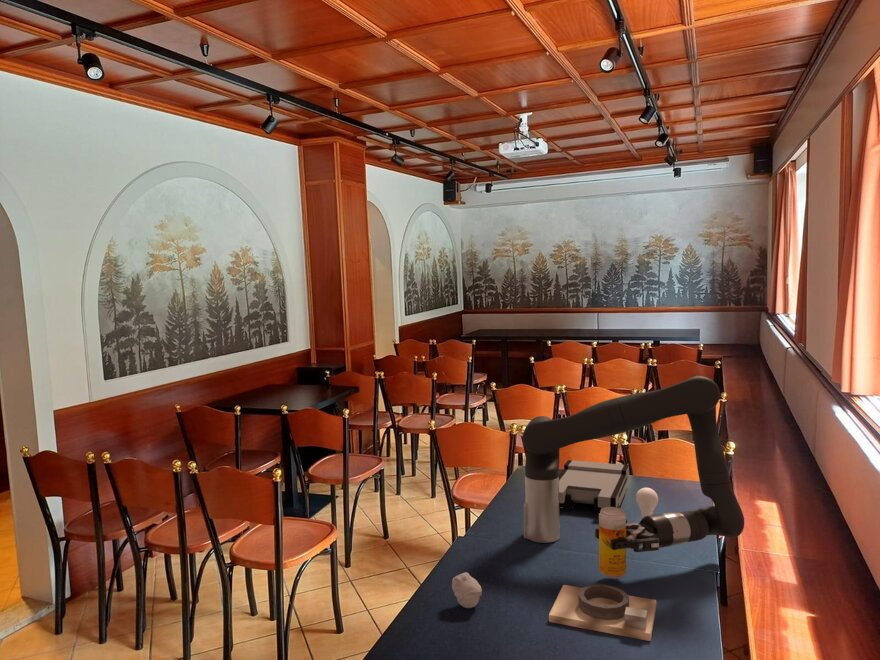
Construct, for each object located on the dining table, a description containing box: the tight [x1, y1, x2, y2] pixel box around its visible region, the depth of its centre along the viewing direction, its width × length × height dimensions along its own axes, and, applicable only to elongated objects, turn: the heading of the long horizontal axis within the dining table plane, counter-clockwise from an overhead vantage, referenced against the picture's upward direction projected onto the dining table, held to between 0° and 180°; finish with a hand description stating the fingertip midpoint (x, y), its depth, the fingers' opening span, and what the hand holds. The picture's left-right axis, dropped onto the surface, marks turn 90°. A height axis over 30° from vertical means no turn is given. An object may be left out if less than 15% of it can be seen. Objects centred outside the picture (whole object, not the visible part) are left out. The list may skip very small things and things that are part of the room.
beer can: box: [598, 507, 627, 579], centre depth 145 cm, size 6×6×15 cm
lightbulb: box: [635, 487, 659, 519], centre depth 178 cm, size 6×6×11 cm
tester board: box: [548, 583, 657, 642], centre depth 131 cm, size 20×14×4 cm
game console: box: [559, 459, 630, 513], centre depth 202 cm, size 21×32×8 cm, turn 157°
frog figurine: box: [451, 571, 483, 609], centre depth 135 cm, size 6×7×7 cm
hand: (603, 539), depth 144 cm, fingers closed on beer can, 6 cm apart
